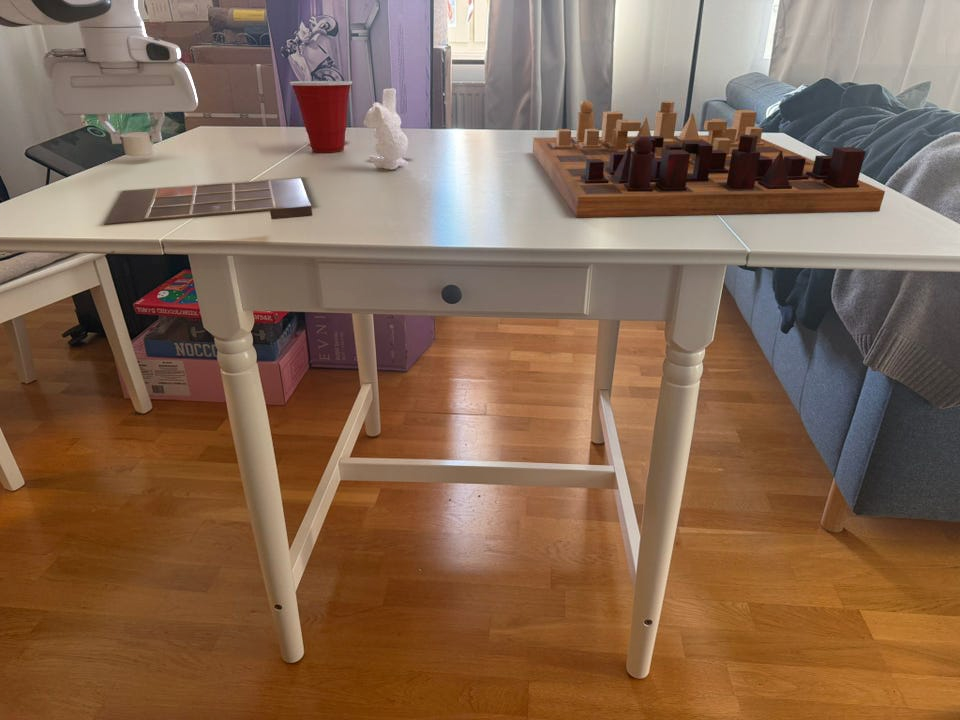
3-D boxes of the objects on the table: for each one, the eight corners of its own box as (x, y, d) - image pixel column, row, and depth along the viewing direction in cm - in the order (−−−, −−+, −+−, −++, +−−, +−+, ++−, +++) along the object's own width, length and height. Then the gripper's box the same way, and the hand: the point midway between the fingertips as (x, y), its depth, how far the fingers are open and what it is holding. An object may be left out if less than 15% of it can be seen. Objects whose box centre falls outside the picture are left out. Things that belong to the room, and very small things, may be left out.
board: (106, 233, 80) (103, 222, 79) (124, 199, 93) (122, 190, 93) (312, 215, 86) (311, 205, 86) (301, 186, 100) (300, 177, 99)
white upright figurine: (380, 160, 115) (375, 85, 109) (418, 162, 113) (414, 86, 108) (361, 172, 108) (354, 91, 102) (401, 174, 106) (396, 93, 100)
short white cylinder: (123, 156, 107) (119, 137, 105) (127, 151, 110) (122, 132, 109) (153, 155, 108) (149, 136, 107) (156, 150, 112) (152, 131, 110)
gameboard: (749, 149, 123) (759, 96, 118) (879, 210, 88) (900, 138, 83) (532, 152, 120) (534, 98, 116) (576, 217, 85) (581, 142, 81)
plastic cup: (361, 143, 128) (355, 75, 123) (354, 155, 119) (348, 82, 113) (303, 144, 128) (295, 76, 122) (292, 156, 118) (283, 82, 113)
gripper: (34, 49, 96) (61, 149, 103) (187, 48, 102) (203, 143, 109) (44, 47, 101) (69, 142, 108) (189, 46, 107) (204, 136, 114)
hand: (138, 142), depth 108 cm, fingers closed on short white cylinder, 4 cm apart
